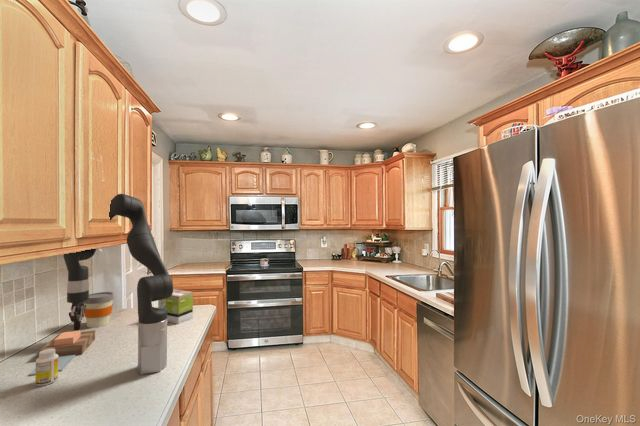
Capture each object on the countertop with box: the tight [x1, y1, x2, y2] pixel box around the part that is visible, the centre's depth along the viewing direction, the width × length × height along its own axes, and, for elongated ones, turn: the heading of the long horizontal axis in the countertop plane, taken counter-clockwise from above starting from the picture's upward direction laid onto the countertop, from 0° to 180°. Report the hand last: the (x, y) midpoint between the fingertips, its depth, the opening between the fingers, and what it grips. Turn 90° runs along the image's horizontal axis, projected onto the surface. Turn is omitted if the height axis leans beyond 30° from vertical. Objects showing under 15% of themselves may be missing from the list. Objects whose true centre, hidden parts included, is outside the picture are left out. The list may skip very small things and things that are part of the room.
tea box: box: [157, 288, 194, 325], centre depth 160 cm, size 15×10×15 cm, turn 67°
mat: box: [28, 354, 77, 377], centre depth 110 cm, size 13×9×1 cm
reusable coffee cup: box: [84, 291, 115, 329], centre depth 152 cm, size 13×13×15 cm
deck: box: [39, 329, 96, 356], centre depth 123 cm, size 16×13×4 cm
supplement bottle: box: [34, 349, 59, 387], centre depth 99 cm, size 6×6×10 cm
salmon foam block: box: [54, 330, 82, 346], centre depth 122 cm, size 8×6×2 cm
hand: (77, 329), depth 131 cm, fingers closed
